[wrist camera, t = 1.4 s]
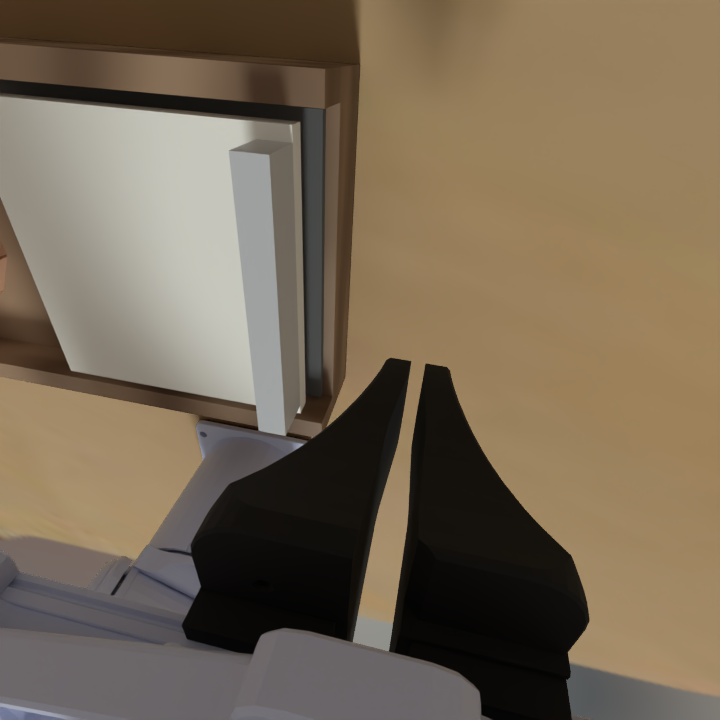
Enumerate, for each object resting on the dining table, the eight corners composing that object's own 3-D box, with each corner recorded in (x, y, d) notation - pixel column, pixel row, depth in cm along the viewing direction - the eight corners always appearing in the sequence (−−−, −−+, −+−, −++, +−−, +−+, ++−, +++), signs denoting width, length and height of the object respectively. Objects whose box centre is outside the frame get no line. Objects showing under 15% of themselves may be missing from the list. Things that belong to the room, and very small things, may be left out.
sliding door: (300, 121, 14) (268, 135, 12) (305, 402, 21) (285, 444, 19) (-22, 90, 16) (-104, 97, 14) (82, 361, 23) (39, 395, 21)
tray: (360, 64, 17) (324, 68, 13) (345, 377, 25) (321, 438, 21) (-234, 18, 20) (-407, 10, 16) (-69, 305, 29) (-155, 346, 25)
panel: (325, 108, 15) (322, 109, 15) (322, 392, 22) (320, 397, 22) (-6, 77, 17) (-16, 78, 16) (92, 351, 24) (87, 355, 24)
